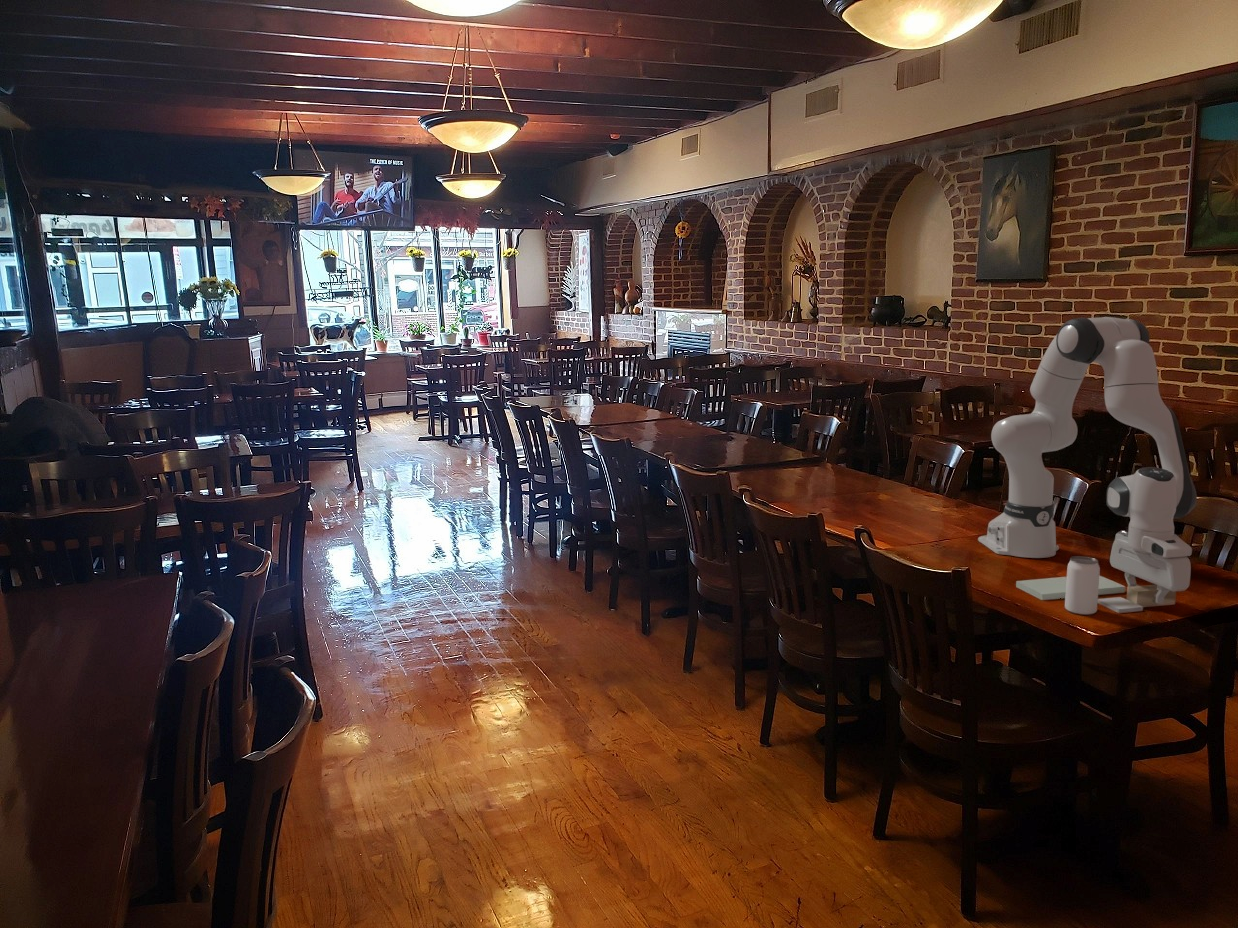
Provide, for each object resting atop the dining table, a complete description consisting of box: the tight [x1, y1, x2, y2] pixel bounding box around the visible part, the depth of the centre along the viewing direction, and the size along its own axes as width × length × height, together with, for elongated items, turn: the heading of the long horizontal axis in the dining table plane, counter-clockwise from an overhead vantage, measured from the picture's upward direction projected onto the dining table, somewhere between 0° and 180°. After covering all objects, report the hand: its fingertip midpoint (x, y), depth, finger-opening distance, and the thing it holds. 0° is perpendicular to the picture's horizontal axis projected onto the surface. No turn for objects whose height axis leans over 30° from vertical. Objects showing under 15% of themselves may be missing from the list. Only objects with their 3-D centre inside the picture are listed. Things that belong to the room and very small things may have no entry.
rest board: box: [1015, 575, 1126, 601], centre depth 210 cm, size 10×22×2 cm, turn 100°
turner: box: [1097, 584, 1177, 614], centre depth 199 cm, size 7×16×4 cm, turn 100°
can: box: [1064, 555, 1101, 616], centre depth 195 cm, size 6×6×12 cm
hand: (1145, 597), depth 199 cm, fingers open, 6 cm apart
